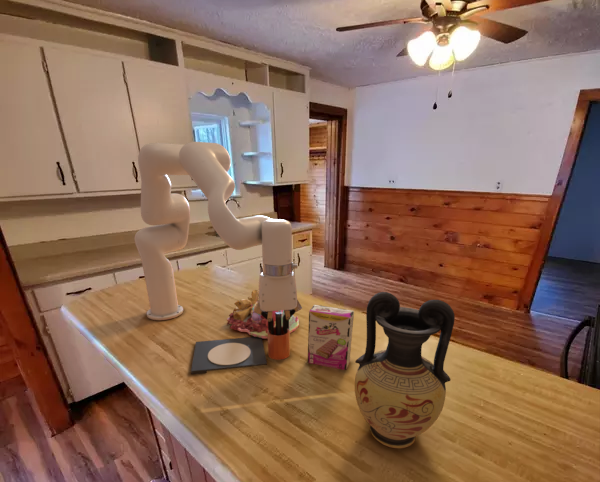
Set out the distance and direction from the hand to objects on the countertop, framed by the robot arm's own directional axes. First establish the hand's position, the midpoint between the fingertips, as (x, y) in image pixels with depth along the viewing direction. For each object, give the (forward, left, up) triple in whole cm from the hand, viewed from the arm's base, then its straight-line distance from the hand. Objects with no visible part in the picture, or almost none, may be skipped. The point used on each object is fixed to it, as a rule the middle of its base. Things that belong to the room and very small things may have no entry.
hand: (278, 331), depth 94 cm
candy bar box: (+7, +13, -8) cm, 17 cm away
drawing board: (-3, -14, -8) cm, 16 cm away
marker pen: (0, 0, -7) cm, 7 cm away
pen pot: (0, 0, -8) cm, 8 cm away
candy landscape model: (-22, -2, -8) cm, 23 cm away
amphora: (+34, +19, -8) cm, 40 cm away
